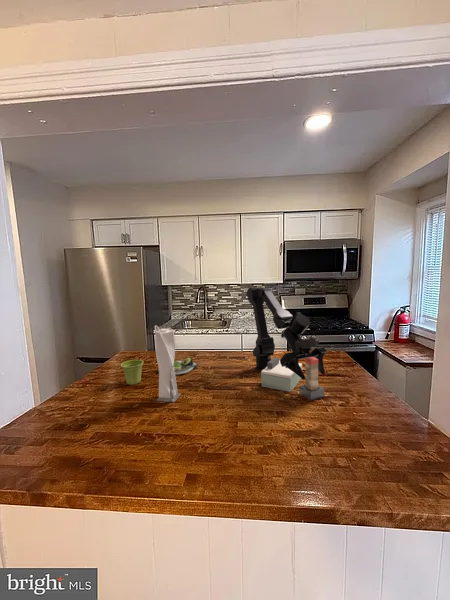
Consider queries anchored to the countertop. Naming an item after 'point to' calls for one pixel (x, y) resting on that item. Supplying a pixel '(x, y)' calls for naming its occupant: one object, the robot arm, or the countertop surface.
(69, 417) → the countertop surface
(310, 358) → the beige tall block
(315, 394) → the key socket
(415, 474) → the countertop surface
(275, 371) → the toolbox lid
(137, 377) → the plant pot
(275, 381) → the toolbox
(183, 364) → the salad plate
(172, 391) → the skyscraper
